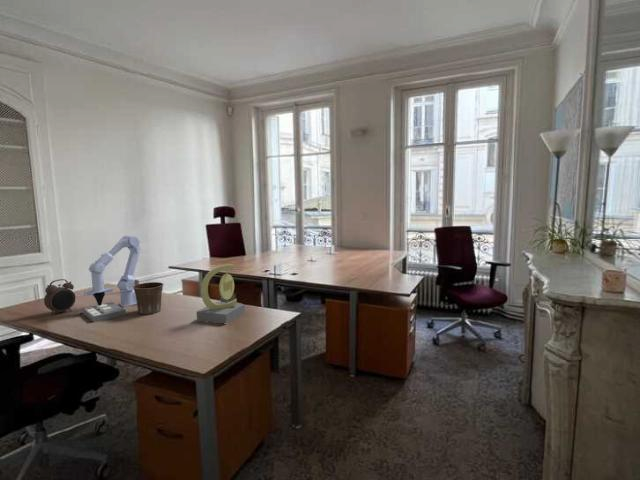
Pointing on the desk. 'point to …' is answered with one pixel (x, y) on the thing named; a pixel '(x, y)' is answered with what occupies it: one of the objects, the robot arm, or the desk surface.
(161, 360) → the desk surface
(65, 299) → the alarm clock
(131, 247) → the robot arm
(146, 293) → the plant pot
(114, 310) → the button panel
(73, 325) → the desk surface
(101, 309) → the button
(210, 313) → the trophy
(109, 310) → the button
